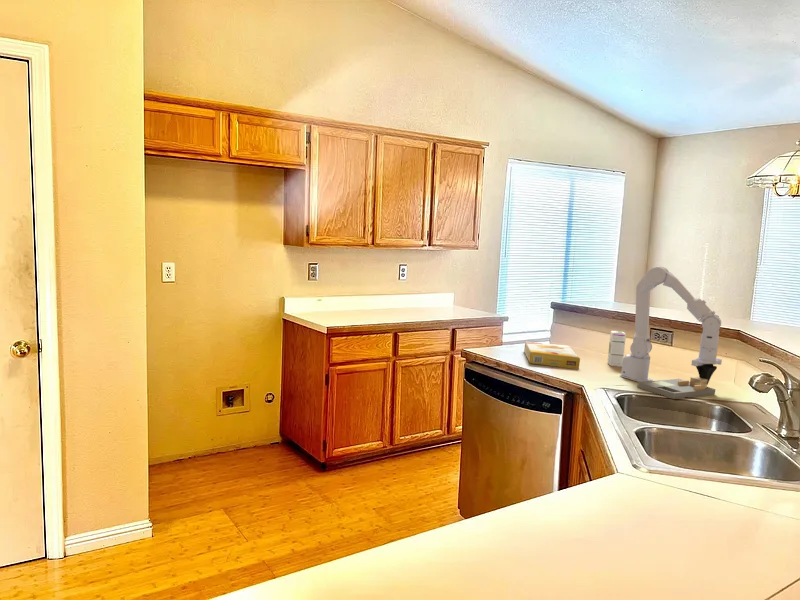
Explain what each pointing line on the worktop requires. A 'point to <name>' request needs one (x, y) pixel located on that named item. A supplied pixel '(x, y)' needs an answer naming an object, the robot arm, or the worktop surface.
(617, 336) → the syrup box
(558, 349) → the cereal box
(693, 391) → the board
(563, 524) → the worktop surface
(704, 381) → the birch block
